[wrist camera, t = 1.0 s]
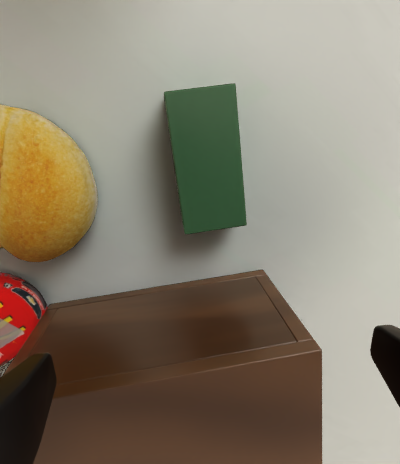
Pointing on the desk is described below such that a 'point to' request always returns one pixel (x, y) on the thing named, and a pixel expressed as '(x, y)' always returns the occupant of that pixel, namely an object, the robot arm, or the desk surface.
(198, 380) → the cabinet
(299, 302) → the desk surface
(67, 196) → the bread roll
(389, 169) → the desk surface
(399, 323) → the desk surface
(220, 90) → the dark green foam brick
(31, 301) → the race car
